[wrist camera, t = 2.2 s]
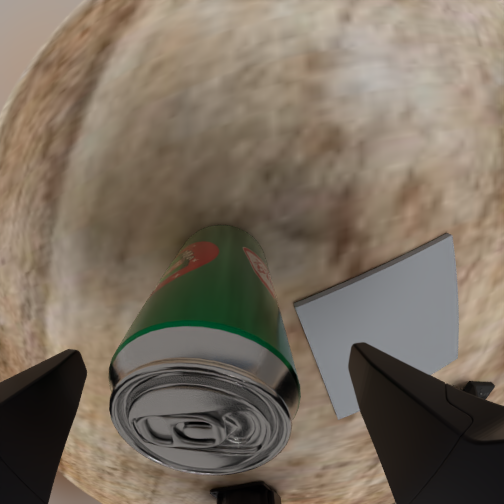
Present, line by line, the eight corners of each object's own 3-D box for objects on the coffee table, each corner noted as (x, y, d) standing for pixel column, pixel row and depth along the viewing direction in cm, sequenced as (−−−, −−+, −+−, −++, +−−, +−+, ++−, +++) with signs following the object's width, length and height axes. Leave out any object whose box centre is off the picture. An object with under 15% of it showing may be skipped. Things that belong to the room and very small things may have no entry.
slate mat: (336, 414, 21) (338, 419, 21) (293, 303, 18) (295, 308, 17) (454, 354, 20) (457, 358, 20) (447, 233, 17) (452, 235, 17)
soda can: (267, 301, 18) (301, 476, 6) (185, 306, 18) (132, 475, 6) (263, 220, 17) (316, 341, 5) (174, 226, 16) (62, 344, 5)
